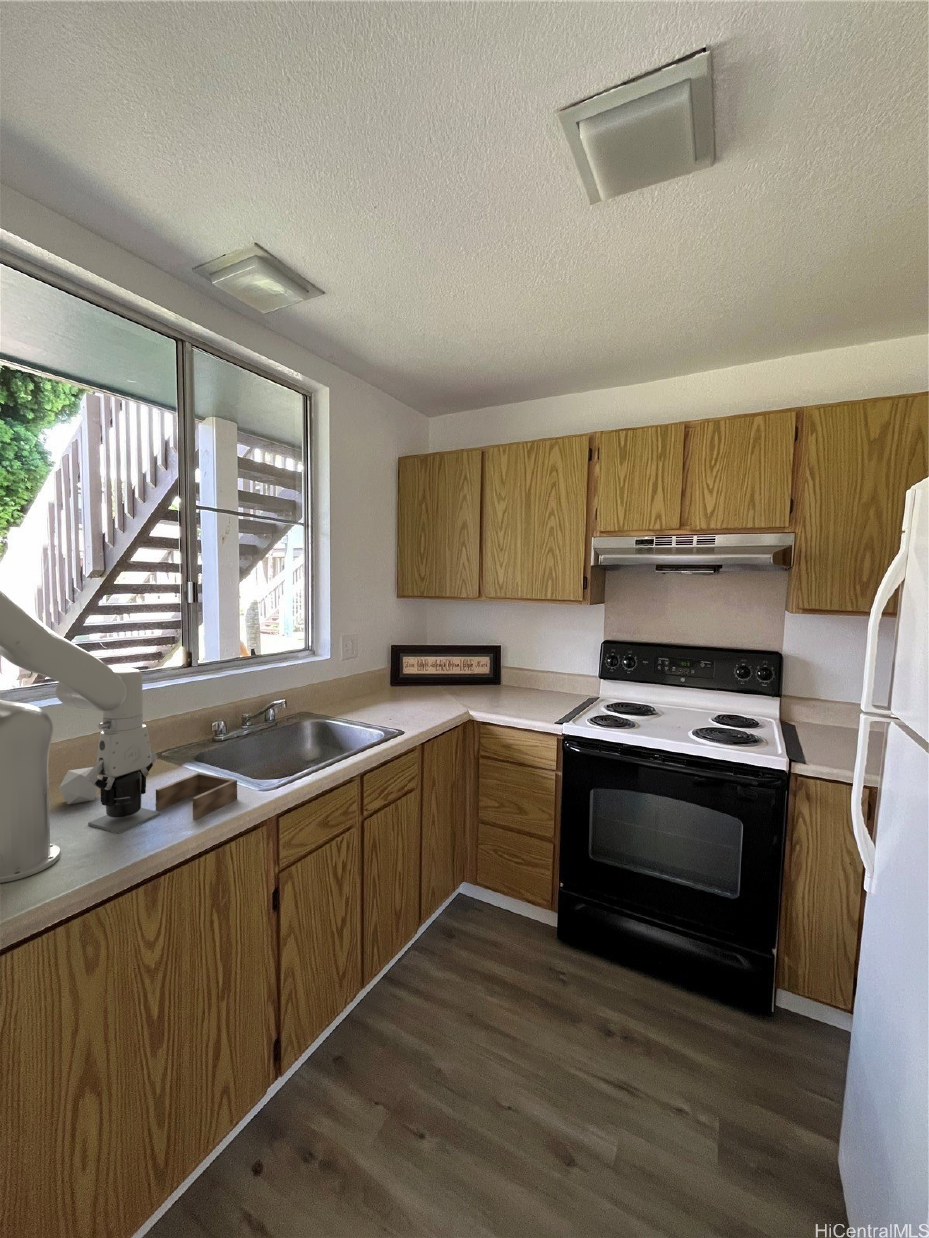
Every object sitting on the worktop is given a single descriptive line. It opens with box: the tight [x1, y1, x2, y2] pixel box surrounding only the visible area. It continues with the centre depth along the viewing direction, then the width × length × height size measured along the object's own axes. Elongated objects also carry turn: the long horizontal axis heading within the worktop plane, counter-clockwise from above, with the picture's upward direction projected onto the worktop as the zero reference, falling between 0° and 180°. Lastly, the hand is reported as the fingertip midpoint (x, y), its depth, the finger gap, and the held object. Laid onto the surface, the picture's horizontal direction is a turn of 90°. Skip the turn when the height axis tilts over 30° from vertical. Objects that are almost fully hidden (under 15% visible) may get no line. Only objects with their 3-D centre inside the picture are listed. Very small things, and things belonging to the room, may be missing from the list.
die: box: [58, 766, 100, 805], centre depth 126 cm, size 8×9×10 cm
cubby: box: [155, 772, 238, 820], centre depth 126 cm, size 12×13×5 cm
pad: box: [87, 807, 162, 834], centre depth 117 cm, size 10×10×1 cm
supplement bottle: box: [105, 770, 143, 818], centre depth 116 cm, size 7×7×12 cm
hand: (124, 798), depth 116 cm, fingers closed on supplement bottle, 6 cm apart
